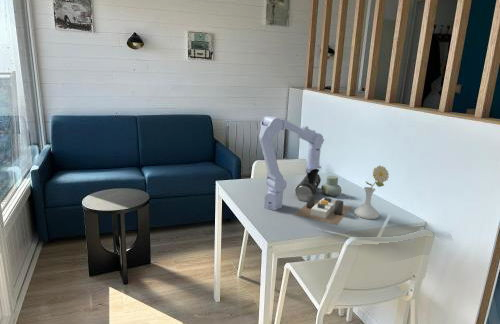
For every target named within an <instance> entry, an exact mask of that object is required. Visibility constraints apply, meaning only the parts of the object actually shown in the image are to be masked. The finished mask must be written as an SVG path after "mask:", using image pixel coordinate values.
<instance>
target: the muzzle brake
mask: <svg viewBox="0 0 500 324" xmlns="http://www.w3.org/2000/svg"><path fill="white" fill-rule="evenodd" d="M321 181H322V179H321V176H320V174H319V173H317V175H316V178H315V181H314V184H310V183H309V181H308V175H307V174H306V175H305V176H304V178H303V179H302V180H301V181H300V183H298V185H296V188H295V191H294V192H295V196H296V198H297V200H300V201H301V202H307V196H308V195H309V194H312V195H315V193H316V191H317V189H318V187H319V186H320V184H321Z"/></svg>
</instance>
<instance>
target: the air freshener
mask: <svg viewBox="0 0 500 324" xmlns="http://www.w3.org/2000/svg"><path fill="white" fill-rule="evenodd" d="M338 183H339V177H338V176H337V175H336V176H335V175H327V177H326V183H323V184H322V185H321V188H320V189H321V192H322V193H323V194H324V195H326V196H329V197H333V196H334V197H336V196H338V195H340V194H341V193H342V187H341V186H340V185H339V184H338Z"/></svg>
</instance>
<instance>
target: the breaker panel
mask: <svg viewBox="0 0 500 324" xmlns="http://www.w3.org/2000/svg"><path fill="white" fill-rule="evenodd" d="M322 200H326V201H328V205H324V204H321V201H322ZM335 201H336V199H332V198H330V197H327V196H326V197H322V198H321V199H317V198H315V203H314V206H313V207H312V208H311V209H309V208H307V203H306V204H305V205H303V206H302V207H301V208H300V209H298V210H297V211H296V212H294V214H293V215H295V216H299V217H301V218H307V219H311V220H315V221H318V222H319V221H320V222H322V223H327V224H330V225H336V226H337V225H338V224H340V222H341V221H342V220H343V218H344V217H345V216H346V215H347V214H348V212H349V211H350V210H351V209H352V206H349V205H345V204H343V211H342V215H336V214H334V210H335Z"/></svg>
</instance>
